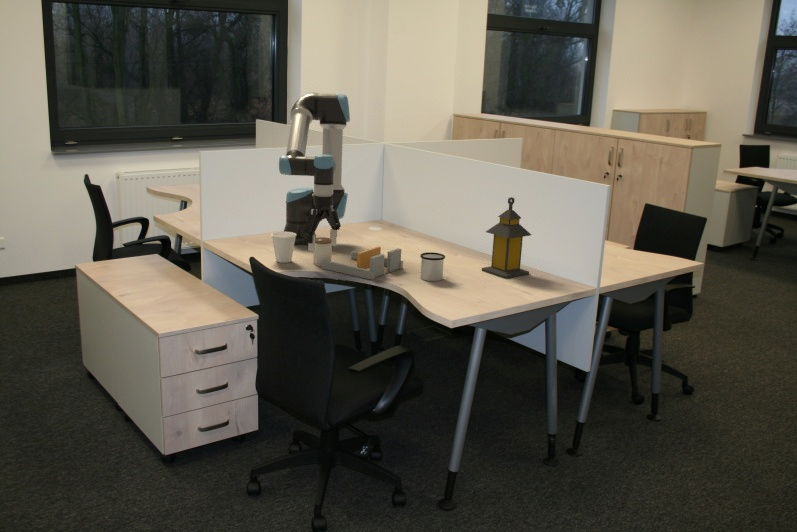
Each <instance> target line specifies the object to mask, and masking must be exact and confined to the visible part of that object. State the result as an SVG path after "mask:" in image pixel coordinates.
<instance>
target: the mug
mask: <svg viewBox="0 0 797 532" xmlns="http://www.w3.org/2000/svg"><path fill="white" fill-rule="evenodd" d="M419 257H420V258H421V263H420V264H421V265H420V279H421V280H423V281H427V282H439V281H441V280H443V277H444V275H443V274H444V260H445V258H446V255H445V254H443V253H439V252H433V251H432V252H431V251H429V252H427V251H426V252H423V253H421V254H420V255H419Z"/></svg>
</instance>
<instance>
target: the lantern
mask: <svg viewBox="0 0 797 532" xmlns="http://www.w3.org/2000/svg"><path fill="white" fill-rule="evenodd" d="M507 203H508V209H506V210H505V211H503V212H502V213H500V215H498V216H497V217H498V218H499V222H498V223H496V224H494V225H493V226H492V227H490V228H489V229H487V230H486V231H485V233H487V234H492V235H493V241H492V253H491V255H492V256H491V266H486V267H485V266H484V267H481V271H482V272H484V273H487V274H490V275H493V276H495V277H498V278H501V279H506V280H509V279H512V278H513V279H514V278H519V277H523V276H528V275H530V271H529V270H526V269H522V268H521V261H522V250H523V249H522V248H523V238H524V237H529V236H532V234H531V233H530V232H529V231H528V230H527V229H526V228H525V227H523V225H522V224H520V220H521V219H522V217H521V216H520V215H519V214H518V213H517V212H516V211H515V210H513V207H514V204H515V198H514V197H508V198H507Z"/></svg>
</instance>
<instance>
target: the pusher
mask: <svg viewBox="0 0 797 532" xmlns="http://www.w3.org/2000/svg"><path fill="white" fill-rule="evenodd" d="M381 249H382V247H381V246H376V247H373V248H370V249H369V248H368V249H367V250H363V251H359V252H360V253H358V255H357V260H356V261H357V264H356V267H358V268H363V269H367V270H369V268H370V257H373V256H376V255H379V254H382V253H381V251H382V250H381ZM384 263H385V264H388V261H384Z"/></svg>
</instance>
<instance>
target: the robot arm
mask: <svg viewBox="0 0 797 532" xmlns="http://www.w3.org/2000/svg"><path fill="white" fill-rule="evenodd" d="M349 106H350V105H349V98H348V96H347V95H346V94H342V93H334V92H333V93H332V92H331V93H328V92H310V93H309V92H308V93H306V94H304V95H302V96H301V97H300V98H298V99H297V100H296V102H294V104H293V106H292V107H291V109H290V114H289V115H290V116H289V118H290V121H291V123H290V127H289V134H288V135H289V136H288V140H287V147H286V153H285V155H281V156H280V157H279V160H278V170H279V173H280V174H281V175H284V176H300V177H302V176H305V177H306V176H307V177H313V188H311V187H299V188H293V189H291V190H288V191H287V192H286V196H285V197H286V201H285V204H286V205H285V206H286V207H285V208H286V209H285V210H286V211H285V214H286V215H285V226H284V229H283V232H292V233H295V234H296V237H295V243H294V245H308V246H307V247H308V248H307V251H308V252H313V253H314V252H315V238H317V235H316V230H317V229H318V227H319V225H320V222H322V221H323V220H326V221H327V223H328V225H329V226H330V230H329V238H331V239H332V246H331V247H337V237H338V231H339V230H340V228H341V222H340V220H341V219H343V218H344V217H345V214H346V210H347V209H346V208H347V204H348V202H347V201H348V196H349V195H348V192H345V191H346V190H345V189H346V188H345V187H343V185H342V175H343V174H342V168H343V167H342V166H343V164H342V163H343V139H344V137H343V134H344V129H345V128H346V127H347V123H349V122H351V117H350V115H351V114H350V107H349ZM313 121H319V126H320V128H322V153H321V154H320V153H319V154H316V155H315V156H306V150H307V144H308V137H309V130H310V124H311V123H312V122H313Z"/></svg>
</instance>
